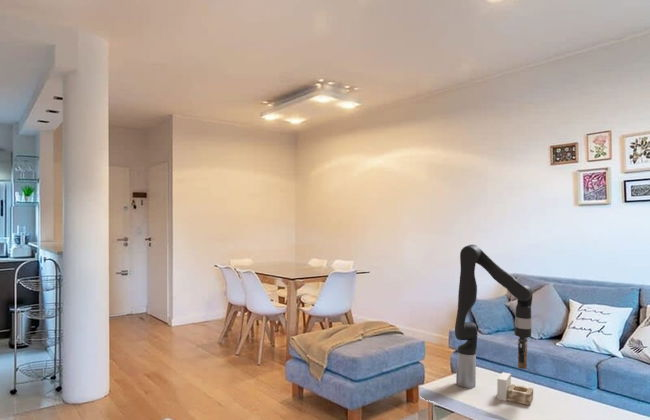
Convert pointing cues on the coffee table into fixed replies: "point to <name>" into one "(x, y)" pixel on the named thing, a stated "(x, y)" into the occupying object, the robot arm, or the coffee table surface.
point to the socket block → (520, 394)
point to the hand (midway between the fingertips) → (522, 360)
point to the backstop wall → (503, 386)
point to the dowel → (524, 365)
